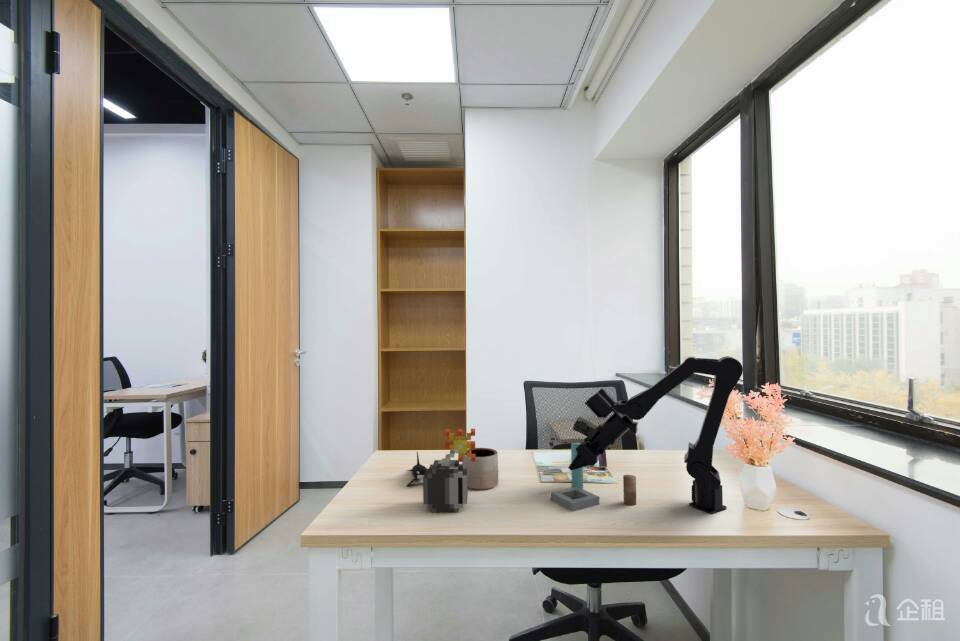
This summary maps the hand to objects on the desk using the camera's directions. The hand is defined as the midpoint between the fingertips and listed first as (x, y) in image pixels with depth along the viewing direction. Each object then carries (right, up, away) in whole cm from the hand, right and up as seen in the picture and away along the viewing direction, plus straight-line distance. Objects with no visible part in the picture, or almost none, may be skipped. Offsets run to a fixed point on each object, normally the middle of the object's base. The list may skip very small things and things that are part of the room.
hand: (572, 465), depth 132 cm
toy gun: (+15, -7, +27) cm, 32 cm away
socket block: (-1, -6, -10) cm, 12 cm away
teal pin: (+1, -7, -1) cm, 7 cm away
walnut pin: (+13, -6, -11) cm, 18 cm away
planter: (-27, -7, +4) cm, 28 cm away
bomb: (-34, -7, -12) cm, 37 cm away
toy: (-46, -8, +10) cm, 48 cm away
